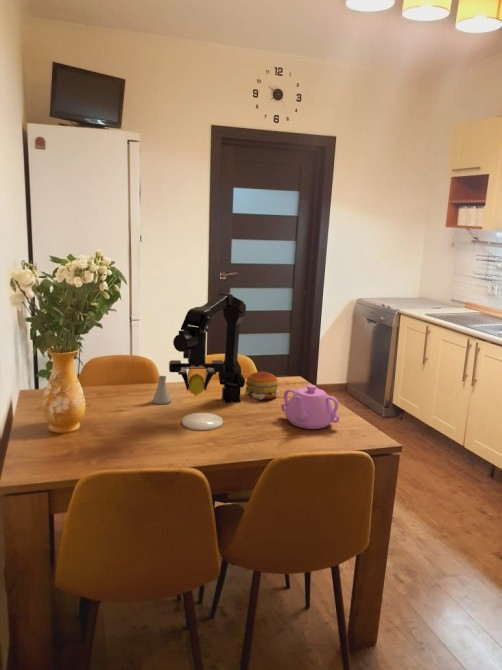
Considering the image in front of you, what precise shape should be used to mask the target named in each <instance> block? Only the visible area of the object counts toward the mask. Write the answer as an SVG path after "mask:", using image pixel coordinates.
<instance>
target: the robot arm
mask: <svg viewBox="0 0 502 670" xmlns="http://www.w3.org/2000/svg"><path fill="white" fill-rule="evenodd" d="M221 311H222V316H223V319H224V321H225V323H226V328H225V329H226V331H225V346H224V347H225V351H224V361H223V360H222V359H220V360H219V359H218V360H217V359H216V360H211V362H208V363H206V354H207V353H206V351H207V333H208V332H210V329H209V328H208V326H209V325H210V324H211V323H212V321H213V320H212V318H213V317H214V316H215V315H216V314H217V313H219V312H221ZM246 311H247V305H246V304H245V302H244V300H242V299H239V298H237V297H235V296H234V295H233V294H232V293H229V292H219V293H217V295H216V296H215V297H214V298H212V299H210V300H209V301H208V302H206V303H204V305H201V306H195V307H193V308H190V309H188V311H187V313H186V314H185V316H184V319H183V321H182V325H181V326H180V330H178V334H176V335H175V337H174V338H173V341H172V342H173V347H174V349H175V350H176V351H177V352H180V353H182V354H183V355H182V358H183V359H184V360H186V359H187V362H186V363H185V362H184V363H182V360H180V359H179V360H177V359H175V360H174V359H173V360H170V361H169V362H168V370H169V373H177V374H178V375H179V376H180V375H181V377H182V380H183V382H184V385H185V388H186V391H187V392H188V391H189V388H188V383H189V379H188V372H187V370H195V369H196V370H197V369H198V370H202V369H204V370H205V375H204V376H205V377H204V389H203V391H206V390H207V388H208V385H209V384H210V381H211V379H212V377H213V375H216V374H217V373H218V381H219V385H222V386H223V387H222V388H221V399H222V400H223V402H224V403H241V402H242V400H241V388H244V386H245V385H246V378H245V377H244V375H243V374H242V367H241V365H240V363H239V361H238V356H239V340H240V339H239V337H240V324H241V322H242V321H243V319H245V314H246Z"/></svg>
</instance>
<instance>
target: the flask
mask: <svg viewBox="0 0 502 670" xmlns="http://www.w3.org/2000/svg"><path fill="white" fill-rule="evenodd" d="M157 378H158V383H157V388H156V391H155V393H154V396H153V399H152V403H153V404H155V405H156V404H157V405H168V404H171V403H172V399H171V397H170V394H169V391H168V386H167V383H166V381H167V375H158V376H157Z"/></svg>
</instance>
